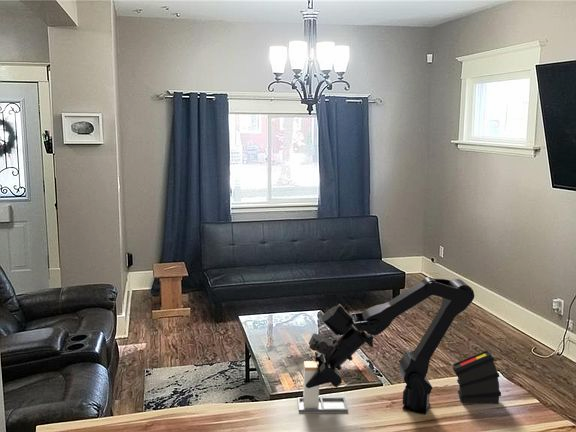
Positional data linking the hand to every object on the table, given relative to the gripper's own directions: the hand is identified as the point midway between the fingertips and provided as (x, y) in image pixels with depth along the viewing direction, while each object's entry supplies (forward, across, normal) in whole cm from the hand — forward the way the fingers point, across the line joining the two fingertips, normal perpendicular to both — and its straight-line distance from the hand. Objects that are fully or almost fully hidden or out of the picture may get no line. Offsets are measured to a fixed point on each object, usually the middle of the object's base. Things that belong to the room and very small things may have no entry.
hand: (306, 383), depth 161 cm
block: (+4, 0, +6) cm, 7 cm away
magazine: (-29, -4, +41) cm, 50 cm away
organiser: (+2, 0, +9) cm, 9 cm away
